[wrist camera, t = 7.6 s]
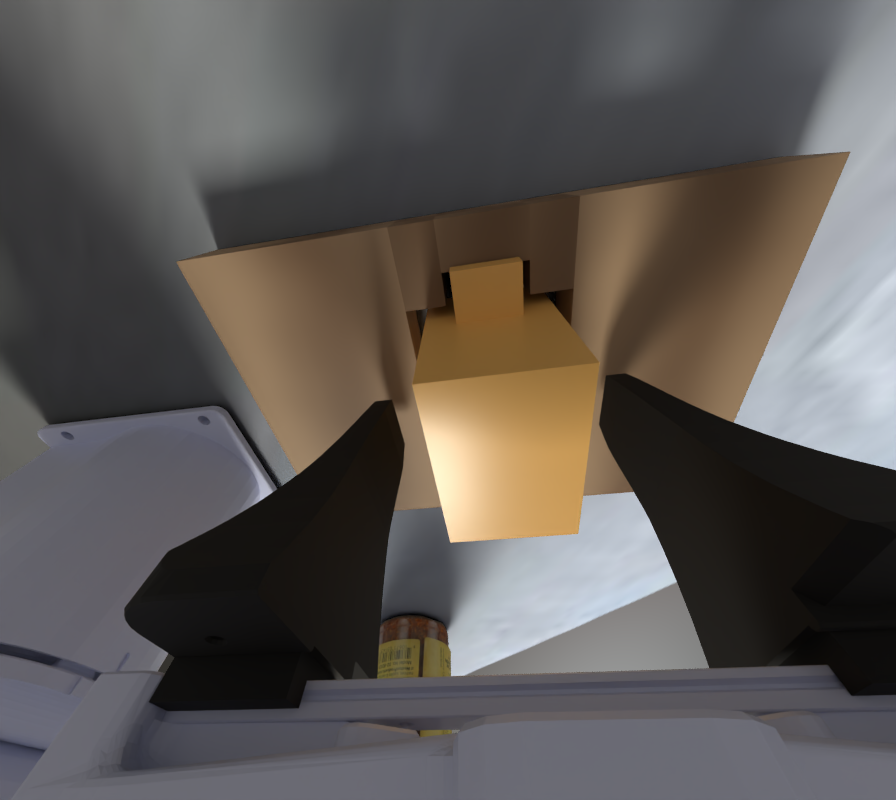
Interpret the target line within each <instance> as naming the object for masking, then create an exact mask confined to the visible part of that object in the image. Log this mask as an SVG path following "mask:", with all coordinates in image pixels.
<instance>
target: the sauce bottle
mask: <svg viewBox="0 0 896 800" xmlns="http://www.w3.org/2000/svg"><path fill="white" fill-rule="evenodd" d="M446 676H451V651H450V649H449V647H448V634H447V631H446V628H445V626H444V625H443V624H442V623H441V622H438V621H435V620H432V619H429V618H427V617H425V616H415V615H405V616H399V617H394V618H392V619H389V620H386V621H385V622H384V623H383V624H381V625H380V636H379V656H378V676H377V679H381V678H413V677H446ZM415 731H417V733H418V734H419V736H420V737H427V736H435V735H444V734H452V730H415Z"/></svg>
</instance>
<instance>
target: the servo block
mask: <svg viewBox="0 0 896 800" xmlns="http://www.w3.org/2000/svg"><path fill="white" fill-rule="evenodd" d="M449 273H450V281H451V288H452V295H453V298H447V300H446V306H443V307H436V308H429V309H428V311H427V315H426V320H425V325H424V330H423V335H422V339H421V344H420V349H419V354H418V358H417V363H416V368H415V373H414V377H413V382H412V387H413V391H414V395H415V399H416V403H417V407H418V411H419V416H420V420H421V424H422V428H423V432H424V436H425V440H426V444H427V448H428V453H429V457H430V461H431V465H432V469H433V473H434V477H435V481H436V485H437V490H438V494H439V498H440V502H441V506H442V510H443V514H444V518H445V522H446V527H447V531H448V535H449V539H450V543H452V542H466V541H481V540H495V539H510V538H524V537H539V536H553V535H567V534H578V531H579V523H580V515H581V507H582V499H583V491H584V483H585V475H586V467H587V460H588V452H589V444H590V436H591V428H592V420H593V412H594V404H595V396H596V388H597V380H598V372H599V364H600V362H599V361H598V360H597V358H596V357H595V356H594V355H593V353H592V352H591V351H590V350H589V348H588V347H587V346H586V345H585V343H584V342H583V341H582V340H581V338H580V337H579V336H578V334H577V333H576V332H575V331H574V329H573V328H572V327H571V326H570V324H569V323H568V322H567V321H566V319H565V318H564V317H563V316H562V314H561V313H560V312H559V311H558V309H557V308H556V307H555V305H554V304H553V303H552V302H551V300H550V299H549V298H548V297H547V295H546V294H545V293H538V294H529V292H528V291H527V289H526V288H525V287H524V288H523V261H522V260H521V259H520V257H514V258H508V259H501V260H494V261H488V262H481V263H474V264H468V265H461V266H455V267H450V269H449Z"/></svg>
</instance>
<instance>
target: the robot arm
mask: <svg viewBox="0 0 896 800" xmlns="http://www.w3.org/2000/svg"><path fill="white" fill-rule="evenodd" d="M206 417H207V418H208V419H207V418H206ZM599 426H600V429H601V431H602V434H603V436H604V439H605V441H606V444H607V446H608V448H609V450H610V452H611V454H612V456H613V457H614V459H615V461H616V463H617V464H618V466H619V468H620V469H621V471H622V473H623V474H624V476H625V478H626V479H627V481H628V483H629V484H630V486H631V488H632V489H633V491H634V493H635V494H636V496H637V498H638V499H639V501H640V503H641V505H642V506H643V508H644V510H645V512H646V514H647V516H648V517H649V519H650V521H651V524H652V526H653V528H654V530H655V532H656V534H657V537H658V539H659V541H660V543H661V545H662V548H663V550H664V552H665V555H666V557H667V559H668V562H669V564H670V566H671V569H672V571H673V573H674V576H675V578H676V580H677V583H678V585H679V588H680V590H681V593H682V595H683V598H684V601H685V603H686V606H687V608H688V611H689V613H690V616H691V618H692V621H693V623H694V626H695V629H696V632H697V635H698V637H699V640H700V643H701V646H702V648H703V651H704V654H705V657H706V659H707V662H708V665H709V668H706V669H675V670H674V669H673V670H641V671H608V672H577V673H543V674H511V675H478V676H446V677H413V678H381V679H377V676H378V656H379V636H380V622H381V608H382V595H383V584H384V574H385V564H386V555H387V546H388V537H389V532H390V526H391V521H392V517H393V512H394V508H395V503H396V499H397V494H398V490H399V485H400V480H401V476H402V471H403V462H404V449H405V442H404V439H403V435H402V432H401V428H400V425H399V422H398V418H397V415H396V411H395V408H394V404H393V401H392V400H383V401H375V402H374V403H373V404H372V405H371V406H370V407H369V408H368V409H367V410H366V411H365V412H364V413H363V414H362V415H361V416H360V417H359V419H358V420H357V421H356V422H355V423H354V424H353V425H352V426H351V427H350V428H349V429H348V430H347V431H346V432H345V433H344V434H343V435H342V436H341V437H340V438H339V439H338V440H337V441H336V442H335V443H334V444H333V445H332V446H331V447H329V448H328V449H327V450H326V451H325V452H324V453H323V454H322V455H321V456H320V457H319V458H318V459H316V460H315V461H314V462H313V463H312V464H310V465H309V466H308V467H307V468H305V469H304V470H303V471H302V472H300V473H299V474H298V475H297V476H295V477H294V478H293V479H291V480H290V481H288V482H287V483H286V484H284V485H283V486H281V487H280V488H278V489H277V488H276V486H275V485H274V483H273V482H272V480H271V479H270V477H269V475H268V474H267V472H266V471H265V469H264V468H263V466H262V464H261V463H260V461H259V460H258V458H257V457H256V455H255V454H254V452H253V450H252V449H251V447H250V446H249V444H248V443H247V441H246V440H245V438H244V436H243V435H242V433H241V432H240V430H239V429H238V427H237V425H236V424H235V422H234V421H233V419H232V418H231V416H230V415H229V413H228V412H227V411H226V410H225V409H223V408H221V407H219V406H208V407H199V408H190V409H182V410H173V411H165V412H156V413H147V414H139V415H130V416H122V417H113V418H105V419H96V420H87V421H79V422H70V423H62V424H53V425H47V426H45V427H43V428H41V429H40V430H38V432H37V433H38V436H39V437H40V439H42V440H43V441H44V442H45V443H46V444H47V445H48V446H49V447H50V449H48V450H47V451H45V452H44V453H42V454H41V455H39V456H38V457H36V458H35V459H33V460H32V461H30V462H29V463H27V464H26V465H24V466H23V467H21V468H20V469H18V470H17V471H15V472H14V473H12V474H10V475H9V476H7V477H6V478H4V479H3V480H1V481H0V800H896V470H892V469H888V468H884V467H880V466H876V465H871V464H867V463H863V462H859V461H855V460H851V459H847V458H843V457H839V456H836V455H832V454H828V453H824V452H821V451H818V450H814V449H811V448H807V447H804V446H801V445H797V444H794V443H791V442H787V441H784V440H781V439H778V438H775V437H772V436H769V435H766V434H763V433H760V432H758V431H755V430H752V429H749V428H746V427H744V426H741V425H738V424H736V423H733V422H731V421H728V420H726V419H723V418H721V417H718V416H716V415H714V414H711V413H709V412H707V411H704V410H702V409H700V408H698V407H696V406H693V405H691V404H689V403H687V402H685V401H683V400H681V399H679V398H676V397H674V396H672V395H670V394H668V393H666V392H664V391H662V390H660V389H658V388H656V387H654V386H652V385H650V384H648V383H646V382H644V381H642V380H640V379H638V378H636V377H633V376H631V375H629V374H626V373H623V374H614V375H606V378H605V385H604V392H603V399H602V406H601V413H600V420H599ZM168 653H169V654H170V655H172V656H173V657H175V658H174V660H173V661H172V663H171V665H170V666H169V668H168V670H167V671H166V673H165V674H164V673H161V672H157V671H158V669H159V668H160V666H161V664H162V663H163V661H164V659H165V658H166V656H167V654H168ZM415 730H460V731H459V732H458V733H453V734H444V735H435V736H427V737H420V736H419V734H418V733H417V731H415Z"/></svg>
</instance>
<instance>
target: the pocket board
mask: <svg viewBox="0 0 896 800" xmlns="http://www.w3.org/2000/svg"><path fill="white" fill-rule="evenodd" d="M849 154H850V152H840V153H826V154H813V155H799V156H786V157H778V158H771V159H765V160H759V161H753V162H747V163H741V164H735V165H729V166H723V167H717V168H711V169H705V170H699V171H693V172H687V173H680V174H674V175H668V176H662V177H656V178H650V179H644V180H638V181H632V182H626V183H620V184H614V185H608V186H602V187H596V188H589V189H583V190H577V191H571V192H565V193H559V194H553V195H547V196H541V197H535V198H529V199H523V200H517V201H511V202H505V203H498V204H492V205H486V206H480V207H474V208H468V209H462V210H456V211H450V212H444V213H438V214H432V215H426V216H420V217H414V218H408V219H401V220H395V221H389V222H383V223H377V224H371V225H365V226H359V227H353V228H347V229H341V230H335V231H329V232H323V233H317V234H310V235H304V236H298V237H292V238H286V239H280V240H274V241H268V242H262V243H256V244H250V245H244V246H238V247H232V248H226V249H219V250H215V251H212V252H208V253H205V254H201V255H198V256H194V257H191V258H187V259H184V260H181V261H177V264H178V266H179V268H180V270H181V271H182V273H183V275H184V277H185V278H186V280H187V282H188V284H189V285H190V287H191V289H192V291H193V292H194V294H195V296H196V298H197V299H198V301H199V303H200V305H201V306H202V308H203V310H204V312H205V313H206V315H207V317H208V319H209V320H210V322H211V324H212V326H213V327H214V329H215V331H216V333H217V334H218V336H219V338H220V340H221V341H222V343H223V345H224V347H225V349H226V350H227V352H228V354H229V356H230V357H231V359H232V361H233V363H234V364H235V366H236V368H237V370H238V371H239V373H240V375H241V377H242V378H243V380H244V382H245V384H246V385H247V387H248V389H249V391H250V392H251V394H252V396H253V398H254V399H255V401H256V403H257V405H258V406H259V408H260V410H261V412H262V413H263V415H264V417H265V419H266V420H267V422H268V424H269V426H270V428H271V429H272V431H273V433H274V435H275V436H276V438H277V440H278V442H279V443H280V445H281V447H282V449H283V450H284V452H285V454H286V456H287V457H288V459H289V461H290V463H291V464H292V466H293V468H294V470H295V471H296V473H297V475H298V474H299V473H300V472H302V471H303V470H304V469H305V468H307V467H308V466H309V465H310V464H312V463H313V462H314V461H315V460H316V459H318V458H319V457H320V456H321V455H322V454H323V453H324V452H325V451H326V450H327V449H328V448H329V447H331V446H332V445H333V444H334V443H335V442H336V441H337V440H338V439H339V438H340V437H341V436H342V435H343V434H344V433H345V432H346V431H347V430H348V429H349V428H350V427H351V426H352V425H353V424H354V423H355V422H356V421H357V420H358V419H359V417H360V416H361V415H362V414H363V413H364V412H365V411H366V410H367V409H368V408H369V407H370V406H371V405H372V404H373V403H374V402H375V401H383V400H392V401H393V404H394V408H395V411H396V415H397V418H398V422H399V425H400V428H401V432H402V435H403V439H404V442H405V449H404V462H403V471H402V476H401V480H400V485H399V490H398V494H397V499H396V503H395V508H394V511H397V510H410V509H422V508H435V507H442V506H441V502H440V498H439V494H438V490H437V485H436V481H435V477H434V473H433V469H432V465H431V461H430V457H429V453H428V448H427V444H426V440H425V436H424V432H423V428H422V424H421V420H420V416H419V411H418V407H417V403H416V399H415V395H414V391H413V387H412V382H413V377H414V373H415V368H416V363H417V358H418V354H419V349H420V344H421V334H420V329H419V324H418V319H417V314H416V310H421V309H429V308H436V307H443V306H446V300H447V283H446V276H445V272H449V269H450V267H455V266H461V265H468V264H474V263H481V262H488V261H494V260H501V259H508V258H514V257H520V259H521V260H522V261H523V285H524V286H525V288H526V289H527V291H528V292H529V294H538V293H545V292H552V291H556V301H555V307H556V308H557V309H558V311H559V312H560V313H561V314H562V316H563V317H564V318H565V319H566V321H567V322H568V323H569V324H570V326H571V327H572V328H573V329H574V331H575V332H576V333H577V334H578V336H579V337H580V338H581V340H582V341H583V342H584V343H585V345H586V346H587V347H588V348H589V350H590V351H591V352H592V353H593V355H594V356H595V357H596V358H597V360H598V361H599V362H600V364H599V372H598V380H597V388H596V396H595V404H594V412H593V420H592V428H591V436H590V444H589V452H588V460H587V467H586V475H585V483H584V491H583V496H586V495H599V494H611V493H624V492H634V491H633V489H632V488H631V486H630V484H629V483H628V481H627V479H626V478H625V476H624V474H623V473H622V471H621V469H620V468H619V466H618V464H617V463H616V461H615V459H614V457H613V456H612V454H611V452H610V450H609V448H608V446H607V444H606V441H605V439H604V436H603V434H602V431H601V429H600V426H599V420H600V413H601V406H602V399H603V392H604V385H605V378H606V375H614V374H623V373H626V374H629V375H631V376H633V377H636V378H638V379H640V380H642V381H644V382H646V383H648V384H650V385H652V386H654V387H656V388H658V389H660V390H662V391H664V392H666V393H668V394H670V395H672V396H674V397H676V398H679V399H681V400H683V401H685V402H687V403H689V404H691V405H693V406H696V407H698V408H700V409H702V410H704V411H707V412H709V413H711V414H714V415H716V416H718V417H721V418H723V419H726V420H728V421H731V422H734V420H735V418H736V416H737V413H738V411H739V409H740V406H741V404H742V402H743V399H744V397H745V395H746V392H747V390H748V388H749V385H750V383H751V381H752V378H753V376H754V374H755V372H756V369H757V367H758V365H759V362H760V360H761V358H762V355H763V353H764V351H765V348H766V346H767V344H768V341H769V339H770V337H771V334H772V332H773V330H774V328H775V325H776V323H777V321H778V318H779V316H780V314H781V311H782V309H783V307H784V304H785V302H786V300H787V297H788V295H789V293H790V290H791V288H792V286H793V284H794V281H795V279H796V277H797V274H798V272H799V270H800V267H801V265H802V263H803V260H804V258H805V256H806V253H807V251H808V249H809V246H810V244H811V242H812V240H813V237H814V235H815V233H816V230H817V228H818V226H819V223H820V221H821V219H822V216H823V214H824V212H825V209H826V207H827V205H828V202H829V200H830V198H831V196H832V193H833V191H834V189H835V186H836V184H837V182H838V179H839V177H840V175H841V172H842V170H843V168H844V165H845V163H846V161H847V159H848V156H849Z"/></svg>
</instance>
